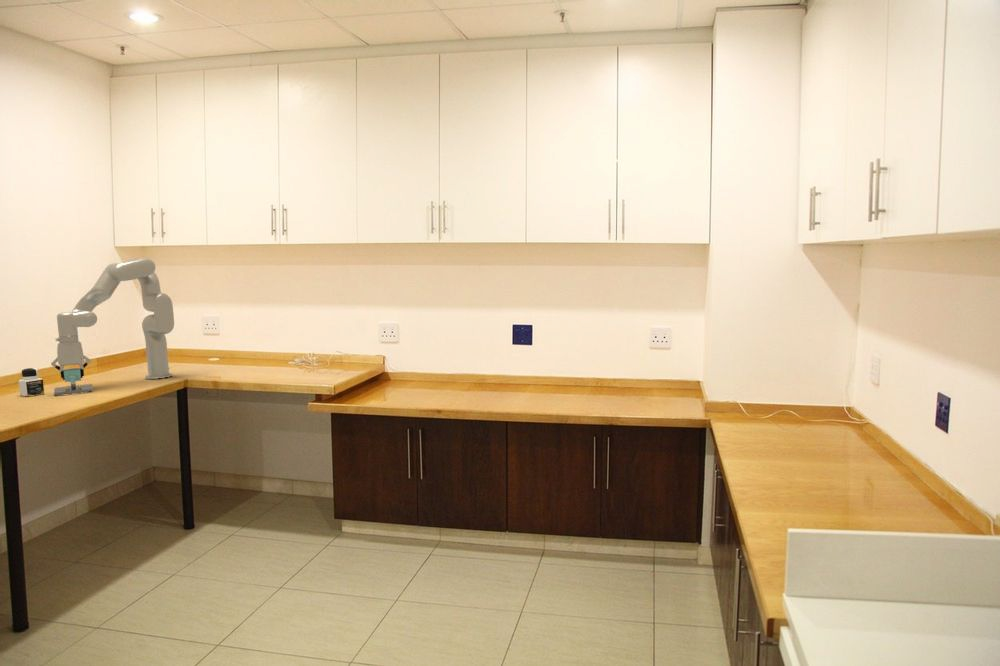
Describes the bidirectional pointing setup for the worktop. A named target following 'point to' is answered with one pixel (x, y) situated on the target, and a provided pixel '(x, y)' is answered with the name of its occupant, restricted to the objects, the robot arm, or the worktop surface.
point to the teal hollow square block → (72, 375)
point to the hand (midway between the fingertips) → (72, 378)
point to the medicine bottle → (30, 383)
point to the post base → (73, 389)
